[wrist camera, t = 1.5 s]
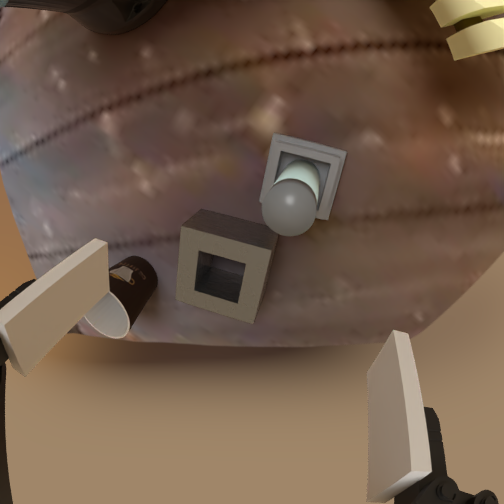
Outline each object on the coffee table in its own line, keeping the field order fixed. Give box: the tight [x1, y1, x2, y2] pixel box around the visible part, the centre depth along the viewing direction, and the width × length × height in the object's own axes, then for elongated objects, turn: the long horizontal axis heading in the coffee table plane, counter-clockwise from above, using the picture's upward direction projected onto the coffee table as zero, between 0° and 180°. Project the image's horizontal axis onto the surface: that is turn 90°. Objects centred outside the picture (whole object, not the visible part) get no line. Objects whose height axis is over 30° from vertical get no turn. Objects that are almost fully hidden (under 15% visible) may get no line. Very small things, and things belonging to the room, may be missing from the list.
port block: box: [176, 209, 279, 324], centre depth 38 cm, size 10×10×6 cm
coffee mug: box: [84, 256, 158, 339], centre depth 41 cm, size 12×9×10 cm
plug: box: [262, 159, 320, 236], centre depth 28 cm, size 4×4×12 cm
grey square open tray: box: [259, 133, 347, 220], centre depth 33 cm, size 8×8×3 cm
